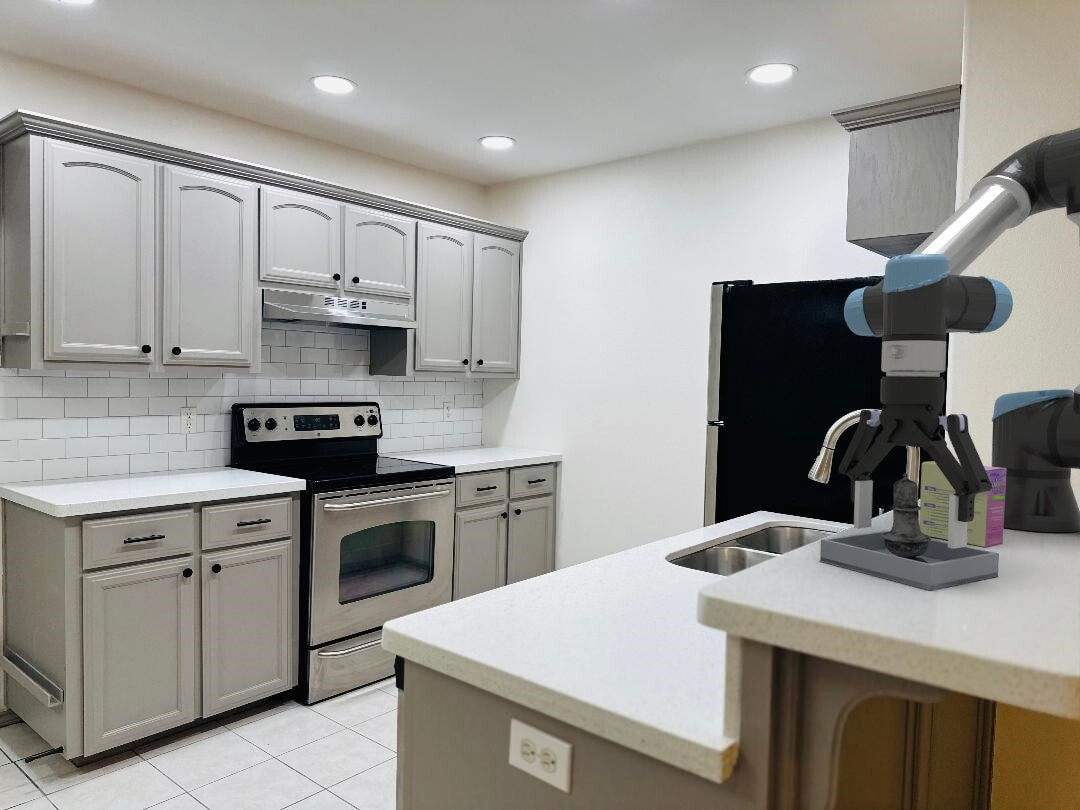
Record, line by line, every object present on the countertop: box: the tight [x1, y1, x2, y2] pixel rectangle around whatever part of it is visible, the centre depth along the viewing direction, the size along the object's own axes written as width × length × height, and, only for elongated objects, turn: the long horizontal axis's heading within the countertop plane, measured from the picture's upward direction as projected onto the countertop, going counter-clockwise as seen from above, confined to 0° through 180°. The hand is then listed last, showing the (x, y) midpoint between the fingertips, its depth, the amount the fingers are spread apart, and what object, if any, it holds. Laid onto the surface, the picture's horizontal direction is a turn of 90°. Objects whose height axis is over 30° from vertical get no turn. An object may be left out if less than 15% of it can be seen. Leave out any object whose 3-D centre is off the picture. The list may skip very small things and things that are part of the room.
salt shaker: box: [882, 472, 932, 564], centre depth 101 cm, size 6×6×12 cm
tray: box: [819, 530, 1000, 591], centre depth 102 cm, size 14×16×3 cm
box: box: [919, 460, 1006, 548], centre depth 121 cm, size 10×6×12 cm, turn 34°
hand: (907, 537), depth 102 cm, fingers open, 13 cm apart
